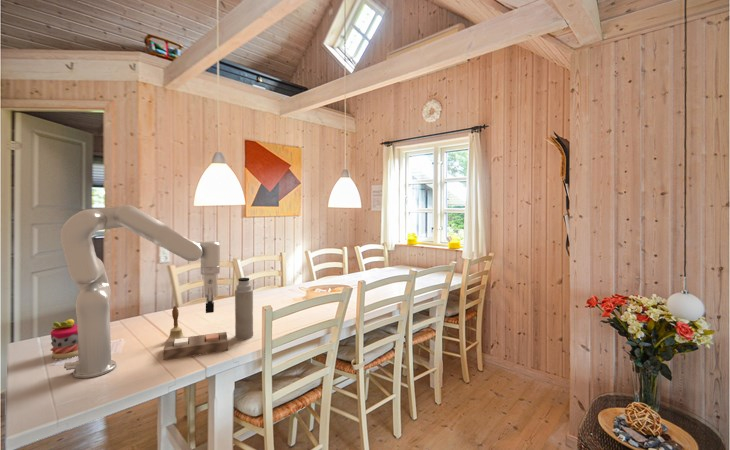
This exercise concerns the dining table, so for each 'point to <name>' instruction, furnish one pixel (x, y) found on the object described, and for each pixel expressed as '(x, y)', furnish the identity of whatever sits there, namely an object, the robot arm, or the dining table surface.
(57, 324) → the cake
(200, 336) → the block
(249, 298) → the thermos bottle
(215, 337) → the terracotta key
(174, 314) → the hand bell
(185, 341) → the white key
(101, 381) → the dining table surface
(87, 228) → the robot arm
